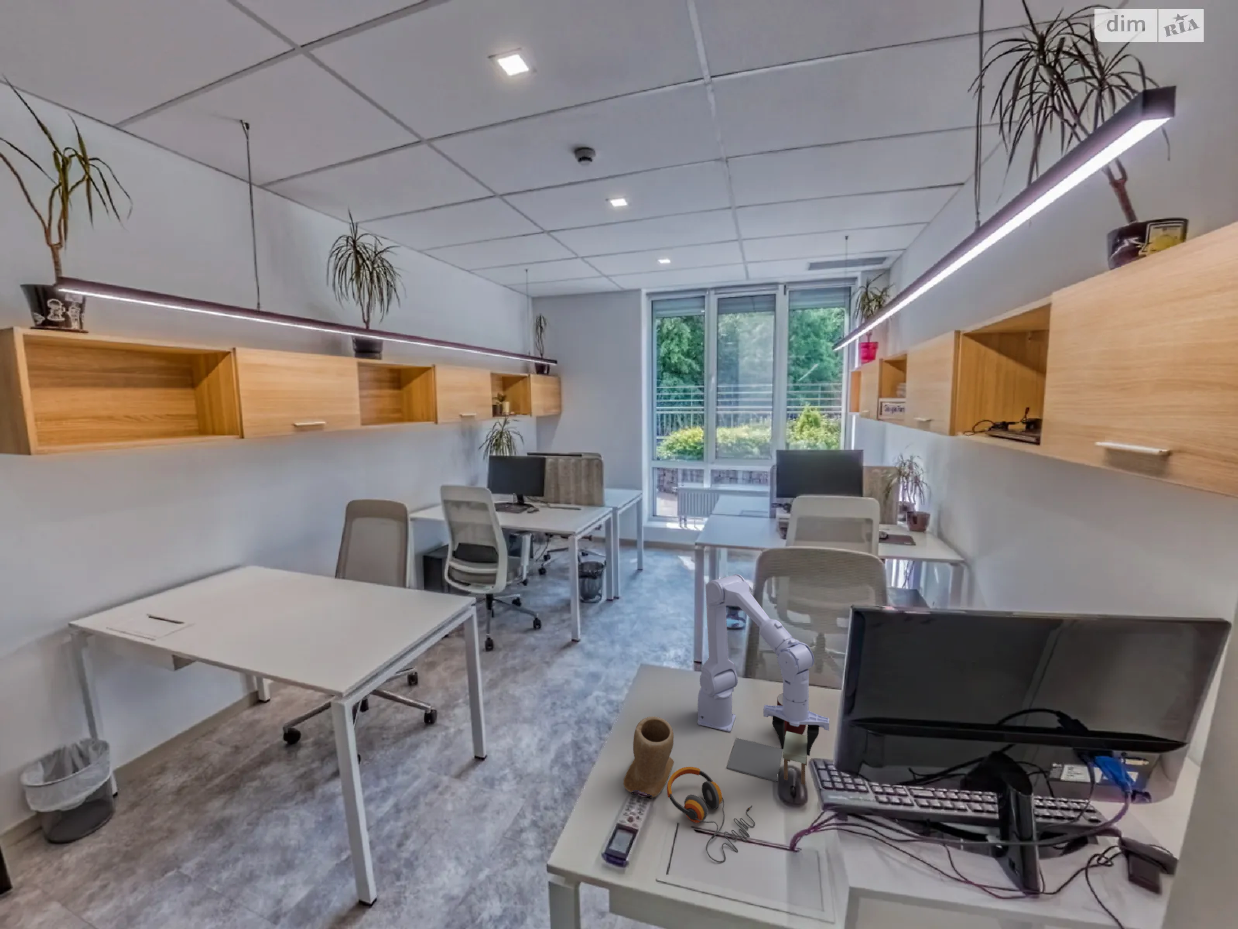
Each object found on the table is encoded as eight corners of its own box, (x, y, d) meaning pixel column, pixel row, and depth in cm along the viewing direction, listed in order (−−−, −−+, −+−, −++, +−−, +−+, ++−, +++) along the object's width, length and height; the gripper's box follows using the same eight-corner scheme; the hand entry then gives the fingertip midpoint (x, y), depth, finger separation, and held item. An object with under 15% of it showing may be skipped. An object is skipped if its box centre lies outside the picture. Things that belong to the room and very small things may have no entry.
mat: (727, 768, 121) (727, 767, 120) (736, 739, 131) (736, 737, 131) (777, 782, 116) (777, 780, 115) (782, 750, 126) (782, 748, 126)
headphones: (724, 859, 93) (650, 783, 107) (719, 880, 95) (647, 802, 109) (770, 811, 104) (698, 747, 118) (765, 829, 106) (695, 765, 120)
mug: (801, 754, 125) (801, 718, 124) (770, 743, 129) (770, 708, 128) (811, 732, 133) (811, 697, 132) (782, 722, 138) (781, 689, 137)
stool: (782, 780, 113) (782, 752, 112) (786, 757, 120) (786, 731, 119) (805, 786, 111) (805, 757, 110) (807, 763, 118) (807, 736, 117)
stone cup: (664, 809, 109) (662, 747, 107) (617, 793, 114) (615, 733, 113) (686, 765, 122) (684, 709, 121) (642, 752, 128) (641, 698, 126)
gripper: (761, 698, 113) (761, 752, 114) (828, 712, 107) (828, 769, 108) (765, 683, 119) (765, 734, 121) (829, 695, 113) (829, 749, 115)
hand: (795, 750), depth 115 cm, fingers closed on stool, 5 cm apart
